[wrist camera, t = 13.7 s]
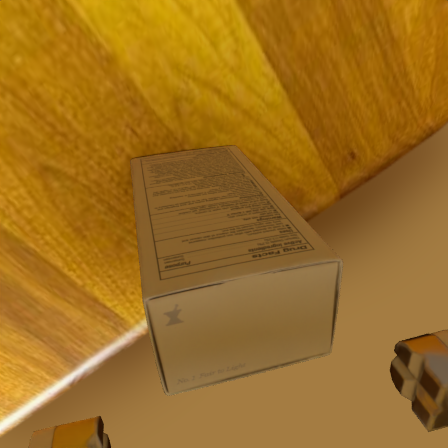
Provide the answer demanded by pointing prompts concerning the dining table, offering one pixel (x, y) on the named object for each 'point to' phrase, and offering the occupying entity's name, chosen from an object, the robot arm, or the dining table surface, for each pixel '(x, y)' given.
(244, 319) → the cosmetic box
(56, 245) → the dining table surface
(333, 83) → the dining table surface
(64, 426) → the robot arm
